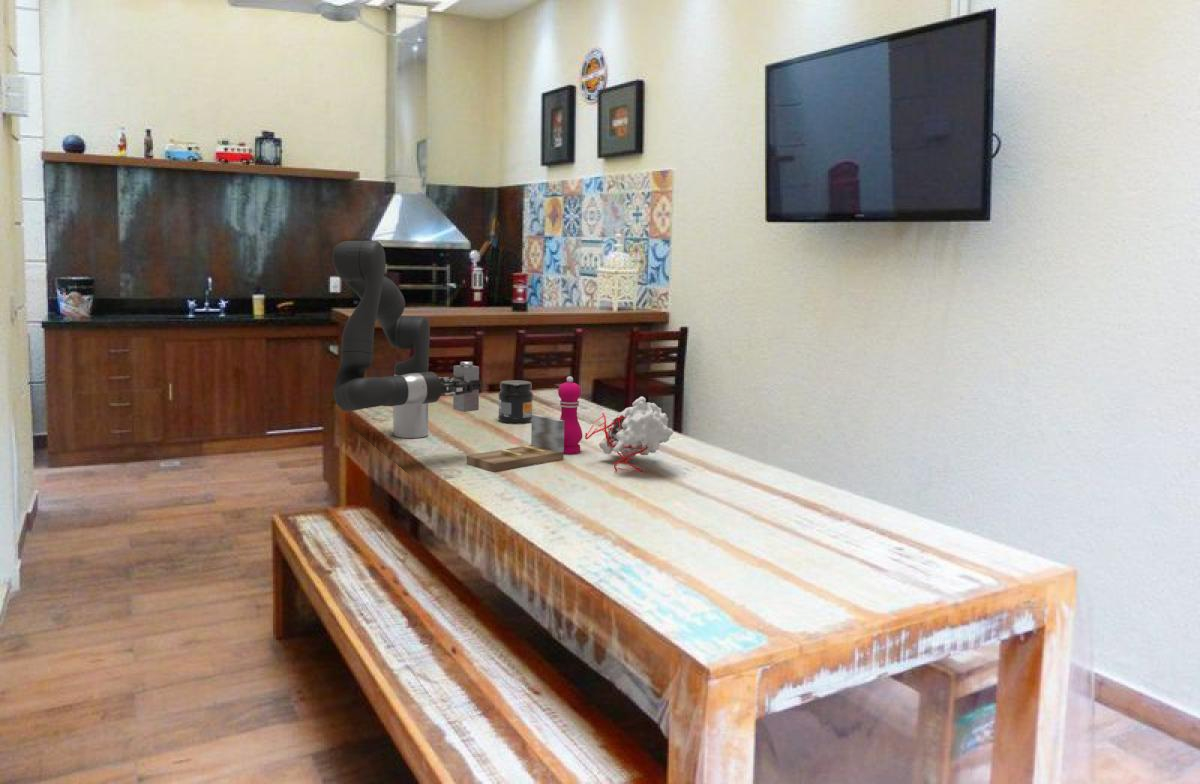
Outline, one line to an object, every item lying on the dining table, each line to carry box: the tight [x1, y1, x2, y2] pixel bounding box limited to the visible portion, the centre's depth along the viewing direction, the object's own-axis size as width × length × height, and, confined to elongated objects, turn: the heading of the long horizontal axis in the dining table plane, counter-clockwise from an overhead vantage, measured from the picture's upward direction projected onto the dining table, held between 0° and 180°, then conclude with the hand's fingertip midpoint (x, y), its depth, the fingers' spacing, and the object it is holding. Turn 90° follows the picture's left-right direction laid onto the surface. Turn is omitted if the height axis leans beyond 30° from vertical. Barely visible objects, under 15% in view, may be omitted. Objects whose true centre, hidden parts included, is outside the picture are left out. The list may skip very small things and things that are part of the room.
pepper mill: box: [557, 376, 583, 455], centre depth 244 cm, size 7×7×20 cm
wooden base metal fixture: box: [466, 413, 565, 473], centre depth 232 cm, size 11×22×10 cm, turn 134°
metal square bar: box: [452, 361, 480, 413], centre depth 234 cm, size 4×4×12 cm
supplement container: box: [497, 379, 534, 424], centre depth 286 cm, size 10×10×12 cm
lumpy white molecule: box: [584, 396, 674, 473], centre depth 229 cm, size 20×18×25 cm
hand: (474, 383), depth 235 cm, fingers closed on metal square bar, 4 cm apart
